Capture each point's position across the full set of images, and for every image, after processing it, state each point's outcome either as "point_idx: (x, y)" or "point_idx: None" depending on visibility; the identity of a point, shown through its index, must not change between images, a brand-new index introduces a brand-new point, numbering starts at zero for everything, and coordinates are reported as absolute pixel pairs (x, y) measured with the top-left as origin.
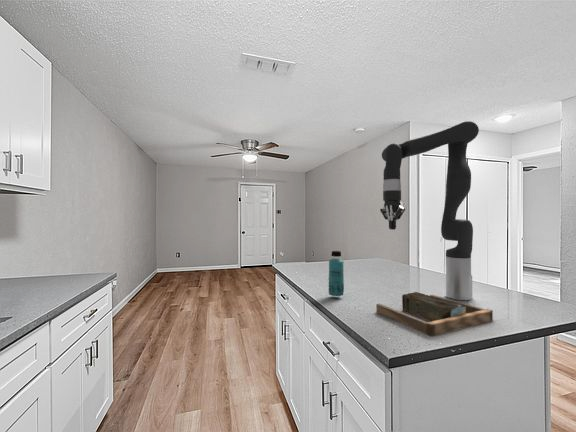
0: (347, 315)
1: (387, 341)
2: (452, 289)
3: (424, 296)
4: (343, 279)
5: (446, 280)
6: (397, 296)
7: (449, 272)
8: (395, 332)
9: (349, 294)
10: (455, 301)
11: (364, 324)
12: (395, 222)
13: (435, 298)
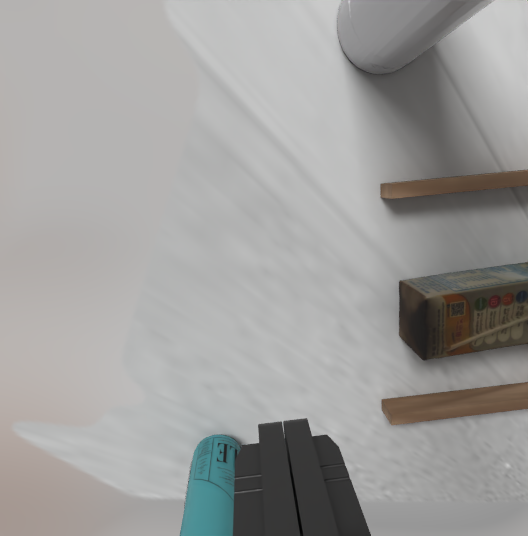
0: (368, 480)
1: (516, 475)
2: (405, 59)
3: (480, 316)
4: (230, 481)
5: (383, 37)
6: (276, 251)
7: (433, 26)
8: (495, 440)
9: (196, 391)
10: (487, 179)
11: (431, 472)
12: (366, 529)
13: (509, 298)
